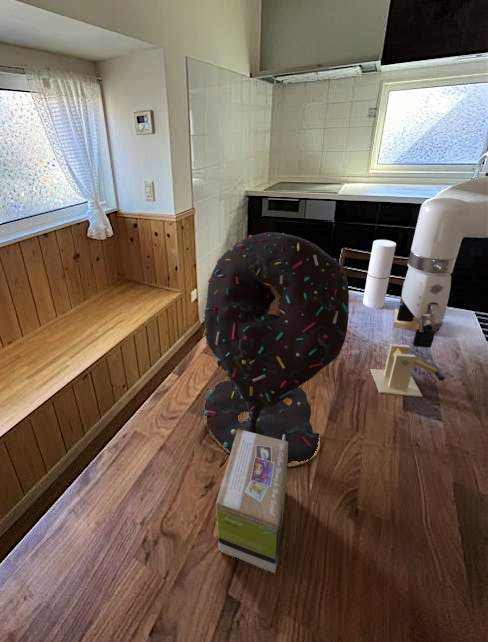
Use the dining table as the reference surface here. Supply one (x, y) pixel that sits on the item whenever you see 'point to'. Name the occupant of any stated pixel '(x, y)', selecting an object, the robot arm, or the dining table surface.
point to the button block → (408, 325)
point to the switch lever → (424, 365)
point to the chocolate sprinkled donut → (272, 336)
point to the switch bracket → (397, 373)
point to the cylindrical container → (379, 273)
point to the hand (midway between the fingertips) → (412, 332)
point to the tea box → (253, 499)
